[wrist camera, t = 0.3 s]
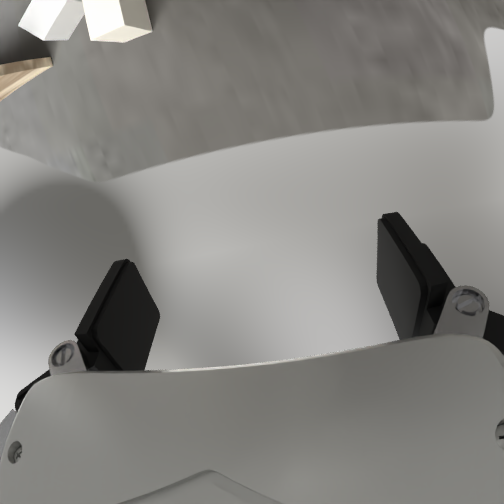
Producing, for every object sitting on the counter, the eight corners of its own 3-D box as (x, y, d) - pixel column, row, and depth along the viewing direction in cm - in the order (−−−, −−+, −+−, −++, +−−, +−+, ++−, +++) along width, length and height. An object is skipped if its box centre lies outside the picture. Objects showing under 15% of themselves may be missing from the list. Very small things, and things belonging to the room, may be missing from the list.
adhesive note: (65, -10, 24) (40, -15, 19) (91, 3, 26) (68, -2, 21) (43, 25, 27) (17, 25, 22) (68, 40, 29) (43, 40, 24)
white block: (111, -13, 25) (77, -25, 18) (139, -25, 25) (110, -42, 17) (124, 42, 30) (90, 40, 23) (152, 31, 29) (124, 25, 22)
